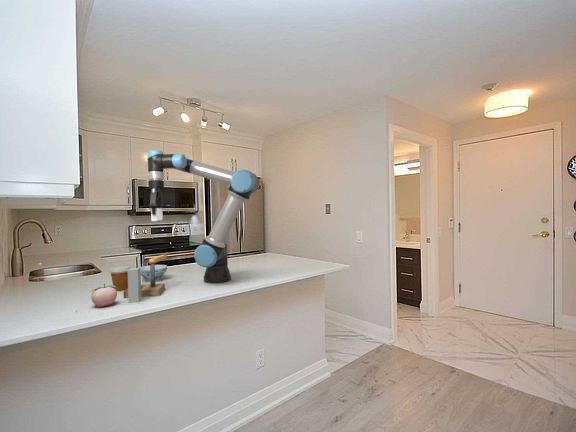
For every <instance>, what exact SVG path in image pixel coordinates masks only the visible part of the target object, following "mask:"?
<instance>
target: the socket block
mask: <svg viewBox="0 0 576 432" xmlns="http://www.w3.org/2000/svg"><path fill="white" fill-rule="evenodd" d="M149 265H150V278H151V282H150V283H146V284H142V283H141V298H150V297H160V296H161V295H162V294H163V292H164V291H165V290H166V284H165V283H164V282H163V283H162V282H160V283H156V282H155V265H156V263H149ZM122 293H123V299H128V289H126V290H125V291H122Z"/></svg>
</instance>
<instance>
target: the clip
mask: <svg viewBox="0 0 576 432" xmlns="http://www.w3.org/2000/svg"><path fill="white" fill-rule="evenodd" d="M167 258H168V254H160V255H157V256H155V257H152V258H149V259H148V264H150V263H155V264H156V263H158V262H161V261H163V260H166V259H167Z"/></svg>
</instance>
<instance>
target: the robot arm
mask: <svg viewBox="0 0 576 432" xmlns="http://www.w3.org/2000/svg"><path fill="white" fill-rule="evenodd" d="M168 169H170V170H172V169H173V170H174V169H175V170H177V171H181V172H183V173H187V174H191V175H194V176H197V177H198V176H199V177H202V178H205V179H208V180H212V181H216V182H219V183H222V184H225V185H228V189H227V191H228V195H227V198H226V200H225V202H224V204H223V206H222V207H221V210H220V212H219V214H218V216H217V218H216V220H215V222H214V224H213V226H212V227H211V229H210V233H209V235H207V236H204V237H203V240H202V242H201V244H200V245H198V246H197V247H196V248H195V250H194V254H193V257H194V260H195V263H196V264H197V265H198V266H200V267H203V268H205V272H204V274H203V283H204V282H205V283H209V284H218V283H219V284H220V283H227V282H229V281H231V280H232V275H231V272H230V269H229V266H228V261H229V260H228V245H229V244H228V241H227V240H226V239H227V238H228V235H229V233H230V231H231V229H232V227H233V225H234V223H235V221H236V220H237V217H238V215H239V214H240V211H241V209H242V207H243V205H244V203H245V202H247V201H249V200H250V197H251V196H252V194H253V193H256V191H257V190H258V189H259V186H260V180H259V177H258V175H256V174H255V173H253V172H252V171H251V170H248V169H238V170H236V171H233V170H232V171H231V170H227V169H224V168H221V167H218V166H214V165H210V164H207V163H204V162H200V161H196V160H193V159H189V158H187V157H186V155H185V154H183V153H164V152H163V151H162V150H157V149H150V150H148V151H147V172H148V173H147V174H146V176H147V178H148V182H147V183H148V185H147V186H148V188H149V189H150V199H149V200H150V201H149V202H150V203H149V207H148V209H150V213H151V214H150V216H151V219H150V220H151V222H158V221H163V220H164V217H163V215H164V214H163V211H164V210H163V209H165V206H164V203H163V196H162V195H163V193H162V189H163V188H165V181H164V180H165V177H164V176H165V172H164V170H168ZM160 189H161V190H160Z"/></svg>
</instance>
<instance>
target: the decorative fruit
mask: <svg viewBox="0 0 576 432" xmlns="http://www.w3.org/2000/svg"><path fill="white" fill-rule="evenodd" d="M114 287H115V288H117V287H116V286H113V284H112V285H106V284H105V283H104V284H103V286H97V287H95V288H93V289H92V290H91V297H90V300H91V302H92V303H93V304H94V305H95V306H97V307H99V308H104V307H109V306H111V305H112V304H113V303H115V302H116V299H117V297H118V291H116V289H115V288H114Z"/></svg>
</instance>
